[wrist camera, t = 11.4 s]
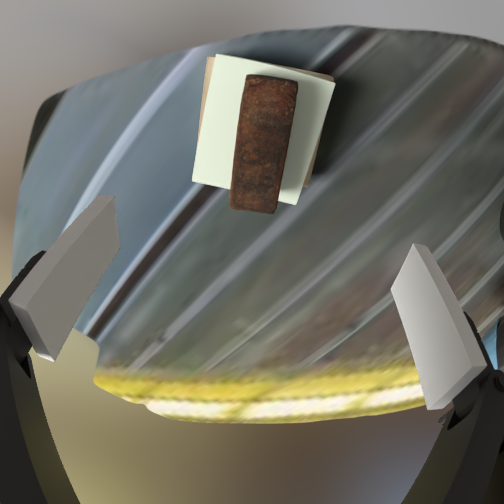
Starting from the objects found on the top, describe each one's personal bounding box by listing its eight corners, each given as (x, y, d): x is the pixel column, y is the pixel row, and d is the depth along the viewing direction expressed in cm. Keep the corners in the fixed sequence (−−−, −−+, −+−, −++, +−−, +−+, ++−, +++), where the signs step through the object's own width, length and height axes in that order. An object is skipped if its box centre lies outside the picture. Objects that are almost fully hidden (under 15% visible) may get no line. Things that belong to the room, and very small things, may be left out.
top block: (327, 79, 25) (335, 83, 22) (293, 187, 32) (295, 205, 29) (223, 54, 25) (216, 53, 21) (200, 166, 32) (191, 181, 28)
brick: (276, 192, 29) (276, 217, 25) (233, 186, 28) (226, 210, 25) (296, 79, 22) (302, 83, 19) (248, 72, 22) (243, 75, 18)
